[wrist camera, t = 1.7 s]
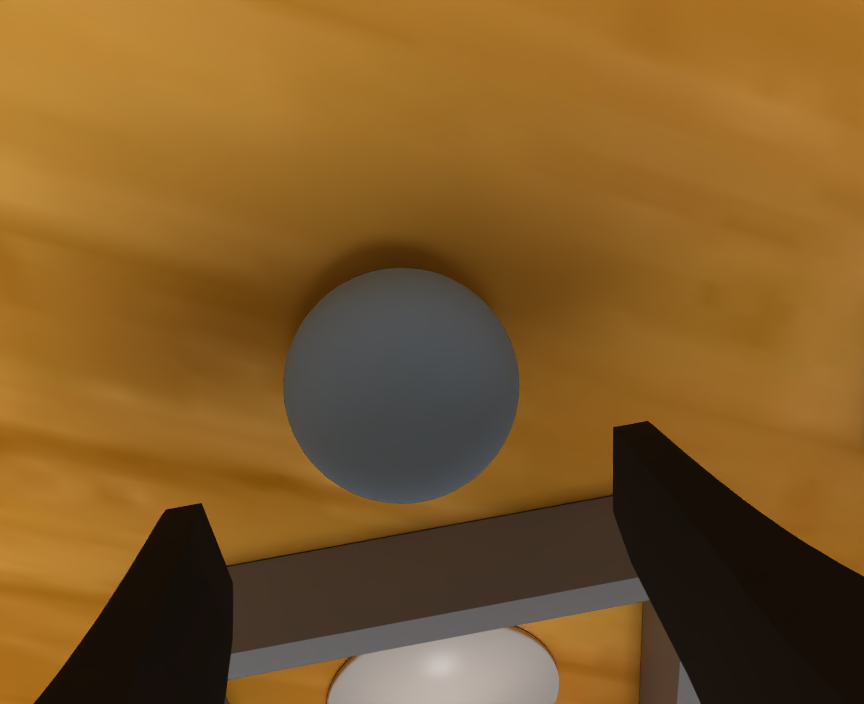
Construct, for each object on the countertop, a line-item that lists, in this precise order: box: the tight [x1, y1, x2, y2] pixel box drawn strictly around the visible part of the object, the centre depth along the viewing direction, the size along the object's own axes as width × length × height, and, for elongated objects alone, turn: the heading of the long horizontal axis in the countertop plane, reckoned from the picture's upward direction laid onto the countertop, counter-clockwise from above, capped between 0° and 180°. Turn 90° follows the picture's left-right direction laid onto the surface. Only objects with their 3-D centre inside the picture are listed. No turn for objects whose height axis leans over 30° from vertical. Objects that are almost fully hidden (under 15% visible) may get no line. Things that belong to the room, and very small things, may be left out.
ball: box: [283, 268, 519, 504], centre depth 17 cm, size 5×5×5 cm
